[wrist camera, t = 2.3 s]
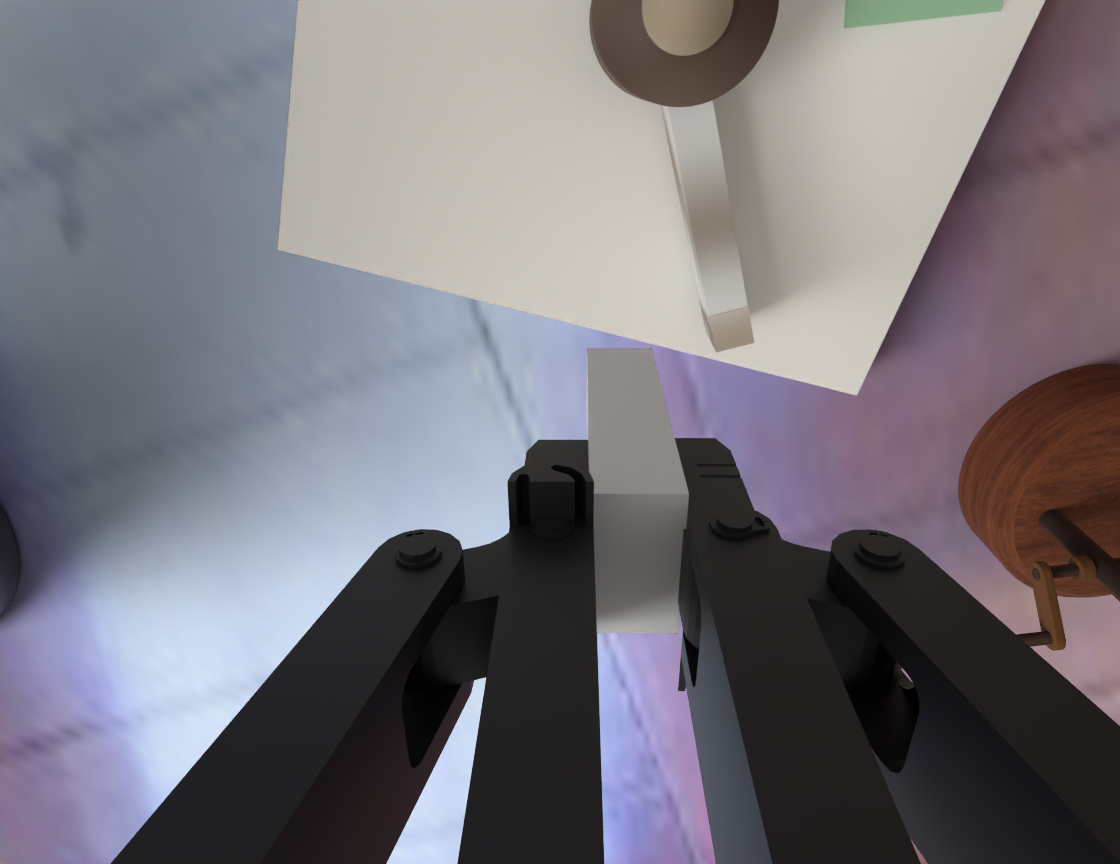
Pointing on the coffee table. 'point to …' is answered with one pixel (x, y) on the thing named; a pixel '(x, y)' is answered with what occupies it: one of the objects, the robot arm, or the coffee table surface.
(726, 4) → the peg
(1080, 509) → the music box
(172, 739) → the coffee table surface
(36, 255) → the coffee table surface
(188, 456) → the coffee table surface
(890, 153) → the board
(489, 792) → the robot arm
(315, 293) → the coffee table surface
